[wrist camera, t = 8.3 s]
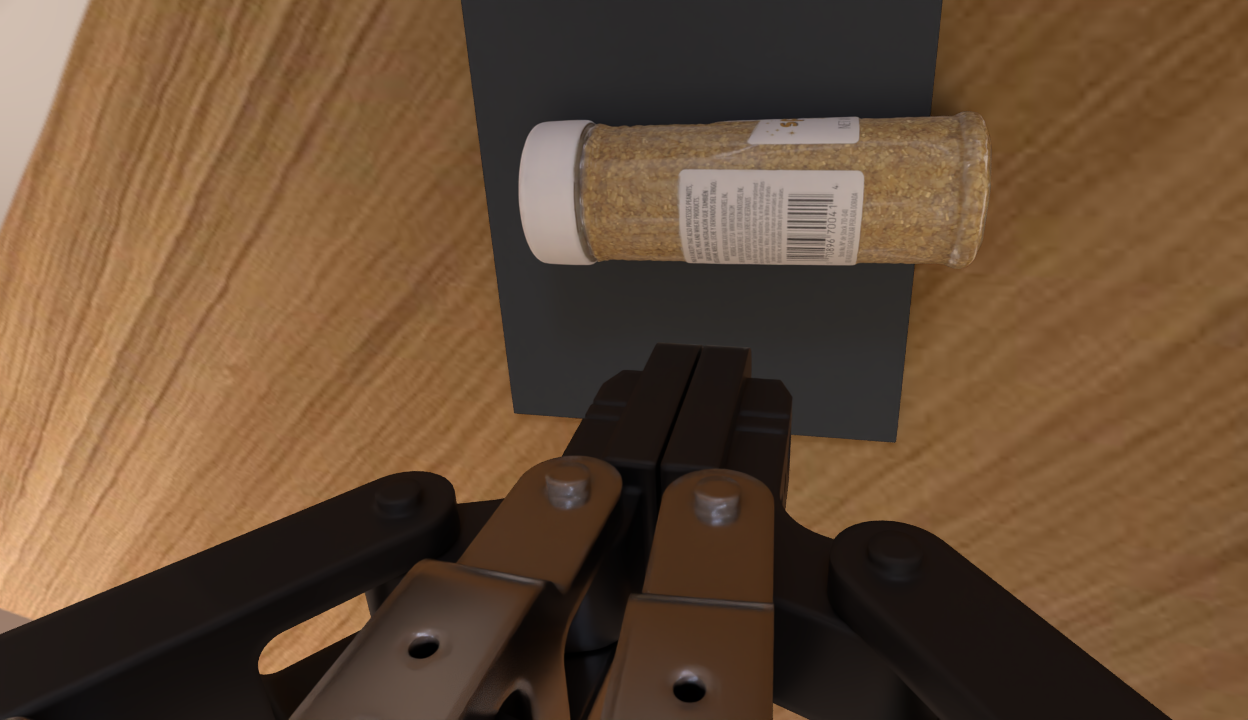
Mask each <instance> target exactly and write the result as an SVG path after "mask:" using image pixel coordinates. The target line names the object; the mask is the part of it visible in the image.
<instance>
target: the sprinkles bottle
mask: <svg viewBox="0 0 1248 720" xmlns="http://www.w3.org/2000/svg"><path fill="white" fill-rule="evenodd" d="M991 155H992V150H991V140H990V135H989V133H988V130H987V127H986V124H985V121H984V120H983V118H982V116H981V115H980V114H979V113H976V112H971V111H964V112H961V113H959V114H956V115H954V116H938V117H904V118H879V119H871V118H863V119H860V118H859V117H834V118H802V119H770V120H742V121H723V122H715V123H712V124H706V125H704V124H697V125H694V124H690V125H685V124H684V125H680V124H672V125H647V126H642V125H635V126H632V127H629V126H619V127H611V126H607V125H604V124H595V123H594V122H592V121H590V120H567V121H550V122H543V123H540V124H538V125H536V126H535V127H534V128H533V129H532V130H531V132H530V133H529V135H528V137H527V139H526V142H525V145H524V148H523V152H522V157H521V162H520V171H519V207H520V215H521V221H522V226H523V230H524V234H525V237H526V240H527V243H528V245H529V247H530V249H531V251H532V252H533V254H534V255H535V257H536V258H537V259H539V260H540V261H542V262H544V263H549V264H566V265H591V264H594V263H595V262H597V261H598V262H600V261H604V260H606V261H608V260H612V259H616V260H622V259H623V260H639V261H642V260H652V261H658V260H659V261H685V262H687V263H708V264H771V265H855V264H857V263H893V264H896V263H904V264H921V263H925V264H944V265H946V266H949V267H951V268H957V269H960V268H965V267H967V266H968V265H970V263H971V262H972V261H973V260H974V258H975V256H976V254H977V252H978V250H979V248H980V245H981V243H982V240H983V236H984V229H985V223H986V217H987V210H988V204H989V196H990V188H991Z"/></svg>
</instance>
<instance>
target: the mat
mask: <svg viewBox="0 0 1248 720" xmlns="http://www.w3.org/2000/svg"><path fill="white" fill-rule="evenodd" d="M461 4H462V12H463V19H464V27H465V35H466V43H467V51H468V58H469V66H470V74H471V82H472V89H473V97H474V105H475V113H476V121H477V128H478V136H479V144H480V152H481V159H482V167H483V175H484V183H485V191H486V198H487V206H488V214H489V222H490V229H491V237H492V245H493V253H494V261H495V268H496V276H497V284H498V292H499V299H500V307H501V315H502V323H503V330H504V338H505V346H506V354H507V362H508V369H509V377H510V385H511V393H512V400H513V408H514V413H517V414H530V415H543V416H556V417H569V418H582V419H583V418H585V414H586V412H587V411H588V409H589V407H590V405H591V404H593V400H594V398H595V396H596V395H597V393H598V391H599V389H600V387H601V386H602V384H603V383H604V382H606V381H607V380H609V379H610V378H612V377H613V376H615V375H616V374H618V373H619V372H621V371H622V370H637V371H643V369H644V367H645V365H646V363H647V361H648V359H649V357H650V355H651V353H652V351H653V349H654V347H655V345H656V343H675V344H693V345H702V346H703V348H704V346H705V345H713V346H730V347H748V348H751V357H752V368H751V378H761V379H776V380H782V382H783V383H784V385H785V386H786V388H787V389H788V391H789V392H790V394H791V395H792V397H793V398H792V421H791V435H803V436H816V437H829V438H842V439H855V440H868V441H881V442H894V443H895V442H896V437H897V428H898V418H899V409H900V399H901V390H902V380H903V371H904V361H905V352H906V342H907V333H908V323H909V314H910V304H911V295H912V285H913V276H914V266H915V264H904V263H896V264H893V263H857V264H855V265H771V264H708V263H687V262H685V261H659V260H658V261H652V260H642V261H639V260H623V259H622V260H616V259H612V260H608V261H606V260H604V261H600V262H598V261H597V262H595V263H594V264H591V265H566V264H549V263H544V262H542V261H540V260H539V259H537V258H536V257H535V255H534V254H533V252H532V251H531V249H530V247H529V245H528V243H527V240H526V237H525V234H524V230H523V226H522V221H521V215H520V207H519V171H520V162H521V157H522V152H523V148H524V145H525V142H526V139H527V137H528V135H529V133H530V132H531V130H532V129H533V128H534V127H535V126H536V125H538V124H540V123H543V122H550V121H567V120H590V121H592V122H594V123H595V124H604V125H607V126H611V127H619V126H629V127H632V126H635V125H642V126H647V125H672V124H680V125H684V124H685V125H690V124H694V125H697V124H704V125H706V124H712V123H715V122H723V121H742V120H770V119H802V118H834V117H859V118H860V119H863V118H871V119H879V118H904V117H930V114H931V105H932V95H933V86H934V76H935V67H936V57H937V48H938V38H939V29H940V19H941V10H942V0H461Z"/></svg>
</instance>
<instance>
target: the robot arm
mask: <svg viewBox="0 0 1248 720" xmlns="http://www.w3.org/2000/svg"><path fill="white" fill-rule="evenodd" d="M751 368H752V357H751V348H748V347H730V346H713V345H705V346H704V348H703V346H702V345H693V344H675V343H656V345H655V347H654V349H653V351H652V353H651V355H650V357H649V359H648V361H647V363H646V365H645V367H644V369H643V371H637V370H622V371H621V372H619V373H618V374H616V375H615V376H613V377H612V378H610V379H609V380H607V381H606V382H604V383H603V384H602V386H601V387H600V389H599V391H598V393H597V395H596V396H595V398H594V400H593V404H591V405H590V407H589V409H588V411H587V412H586V414H585V418H583V419H582V421H581V423H580V425H579V427H578V428H577V430H576V432H575V434H574V435H573V437H572V439H571V441H570V443H569V444H568V446H567V448H566V450H565V451H564V453H563V455H562V457H558V458H553V459H550V460H547V461H544V462H541V463H539V464H537V465H535V466H534V467H532V468H530V469H529V470H528V471H526V472H525V473H524V474H523V475H522V476H521V477H520V479H519V480H518V481H517V483H516V484H515V485H514V487H513V488H512V489H511V491H510V492H509V493H508V495H507V496H506V497H505V498H503V499H497V500H489V501H479V502H470V503H460V504H457V502H456V496H455V490H454V488H453V485H452V484H451V483H450V482H449V480H447V479H446V478H444V477H442V476H440V475H438V474H434V473H431V472H424V471H410V472H402V473H396V474H392V475H388V476H385V477H382V478H380V479H377V480H375V481H372V482H370V483H367V484H365V485H362V486H360V487H358V488H355V489H353V490H350V491H348V492H345V493H343V494H341V495H338V496H336V497H333V498H331V499H328V500H326V501H324V502H321V503H319V504H316V505H314V506H311V507H309V508H307V509H304V510H302V511H299V512H297V513H294V514H292V515H289V516H287V517H285V518H282V519H280V520H277V521H275V522H272V523H270V524H268V525H265V526H263V527H260V528H258V529H255V530H253V531H251V532H248V533H246V534H243V535H241V536H238V537H236V538H234V539H231V540H229V541H226V542H224V543H221V544H219V545H216V546H214V547H212V548H209V549H207V550H204V551H202V552H199V553H197V554H195V555H192V556H190V557H187V558H185V559H182V560H180V561H178V562H175V563H173V564H170V565H168V566H165V567H163V568H160V569H158V570H156V571H153V572H151V573H148V574H146V575H143V576H141V577H139V578H136V579H134V580H131V581H129V582H126V583H124V584H122V585H119V586H117V587H114V588H112V589H109V590H107V591H105V592H102V593H100V594H97V595H95V596H92V597H90V598H87V599H85V600H83V601H80V602H78V603H75V604H73V605H70V606H68V607H66V608H63V609H61V610H58V611H56V612H53V613H51V614H49V615H46V616H44V617H41V618H39V619H36V620H34V621H31V622H29V623H27V624H24V625H22V626H19V627H17V628H15V629H12V630H10V631H7V632H5V633H3V634H0V720H773V703H774V704H776V705H779V706H781V707H783V708H785V709H787V710H789V711H792V712H794V713H796V714H798V715H800V716H803V717H805V718H807V719H809V720H1172V719H1171V718H1169V717H1168V716H1167V715H1166V714H1164V713H1163V712H1162V711H1161V710H1159V709H1158V708H1157V707H1155V706H1154V705H1153V704H1152V703H1150V702H1149V701H1148V700H1146V699H1145V698H1144V697H1143V696H1141V695H1140V694H1139V693H1137V692H1136V691H1135V690H1134V689H1132V688H1131V687H1130V686H1129V685H1127V684H1126V683H1125V682H1123V681H1122V680H1121V679H1120V678H1118V677H1117V676H1116V675H1114V674H1113V673H1112V672H1111V671H1109V670H1108V669H1107V668H1105V667H1104V666H1103V665H1102V664H1100V663H1099V662H1098V661H1097V660H1095V659H1094V658H1093V657H1091V656H1090V655H1089V654H1088V653H1086V652H1085V651H1084V650H1082V649H1081V648H1080V647H1079V646H1077V645H1076V644H1075V643H1073V642H1072V641H1071V640H1070V639H1068V638H1067V637H1066V636H1065V635H1063V634H1062V633H1061V632H1059V631H1058V630H1057V629H1056V628H1054V627H1053V626H1052V625H1050V624H1049V623H1048V622H1047V621H1045V620H1044V619H1043V618H1041V617H1040V616H1039V615H1038V614H1036V613H1035V612H1034V611H1033V610H1031V609H1030V608H1029V607H1027V606H1026V605H1025V604H1024V603H1022V602H1021V601H1020V600H1018V599H1017V598H1016V597H1015V596H1013V595H1012V594H1011V593H1010V592H1008V591H1007V590H1006V589H1004V588H1003V587H1002V586H1001V585H999V584H998V583H997V582H995V581H994V580H993V579H992V578H990V577H989V576H988V575H986V574H985V573H984V572H983V571H981V570H980V569H979V568H978V567H976V566H975V565H974V564H972V563H971V562H970V561H969V560H967V559H966V558H965V557H963V556H962V555H961V554H960V553H958V552H957V551H956V550H954V549H953V548H952V547H951V546H949V545H948V544H947V543H946V542H944V541H943V540H941V539H940V538H939V537H937V536H936V535H934V534H932V533H930V532H928V531H926V530H924V529H921V528H919V527H916V526H913V525H910V524H906V523H901V522H895V521H868V522H862V523H859V524H855V525H853V526H850V527H848V528H846V529H845V530H843V531H842V532H840V533H839V534H838V535H837V536H836V537H835V539H832V538H829V537H826V536H823V535H820V534H818V533H815V532H813V531H811V530H809V529H807V528H805V527H803V526H802V525H800V524H799V523H797V522H796V521H795V520H794V519H793V518H792V517H790V516H789V514H788V513H787V512H786V511H785V508H786V499H787V491H788V483H789V468H790V445H791V421H792V398H793V397H792V395H791V394H790V392H789V391H788V389H787V388H786V386H785V385H784V383H783V382H782V380H776V379H761V378H751ZM364 592H365V595H366V599H367V603H368V607H369V611H370V615H371V618H370V620H369V621H368V622H367V623H366V625H365V626H364V627H363V628H362V629H361V630H360V631H358V632H356V633H354V634H352V635H350V636H348V637H346V638H344V639H342V640H340V641H338V642H336V643H334V644H332V645H330V646H328V647H326V648H324V649H322V650H320V651H318V652H316V653H314V654H312V655H310V656H308V657H306V658H305V659H303V660H301V661H299V662H297V663H295V664H293V665H291V666H289V667H287V668H285V669H283V670H281V671H278V672H276V673H273V674H267V675H262V674H259V670H258V660H259V657H260V654H261V652H262V651H263V649H264V647H265V646H266V645H267V644H268V643H269V642H270V641H271V640H272V639H273V638H274V637H276V636H277V635H278V634H280V633H282V632H284V631H286V630H288V629H290V628H292V627H294V626H296V625H298V624H300V623H302V622H304V621H306V620H309V619H311V618H313V617H315V616H317V615H319V614H321V613H323V612H325V611H327V610H329V609H331V608H333V607H335V606H337V605H340V604H342V603H344V602H346V601H348V600H350V599H352V598H354V597H356V596H358V595H360V594H362V593H364Z"/></svg>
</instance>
